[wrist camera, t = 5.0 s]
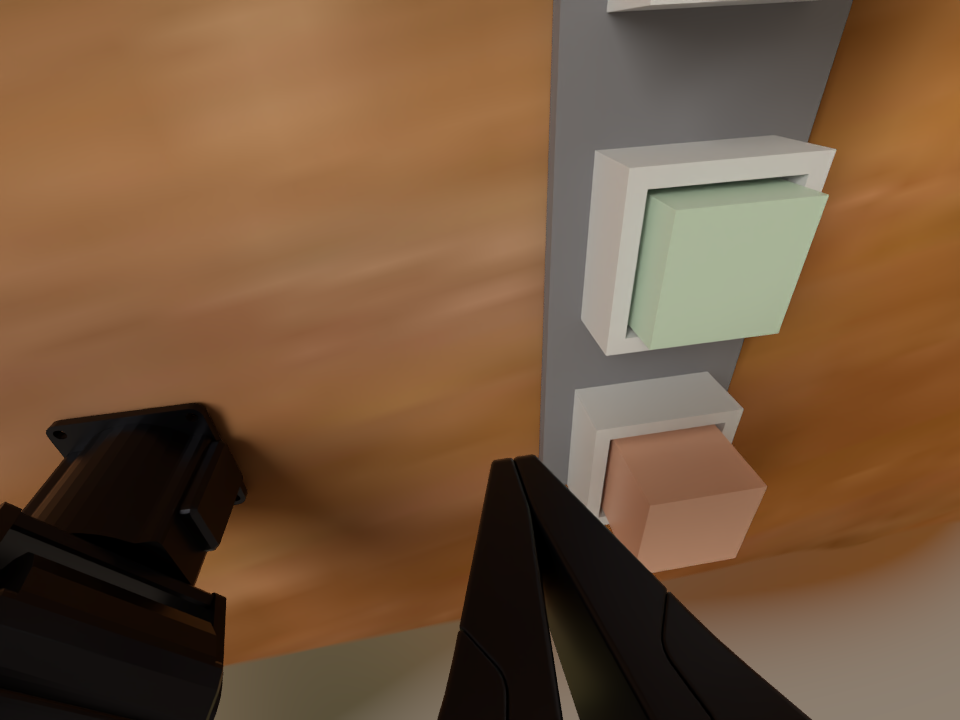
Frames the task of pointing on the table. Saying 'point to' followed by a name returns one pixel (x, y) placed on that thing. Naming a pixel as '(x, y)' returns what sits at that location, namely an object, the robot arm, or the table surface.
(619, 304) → the button panel
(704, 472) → the terracotta button
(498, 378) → the table surface
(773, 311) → the sage button
